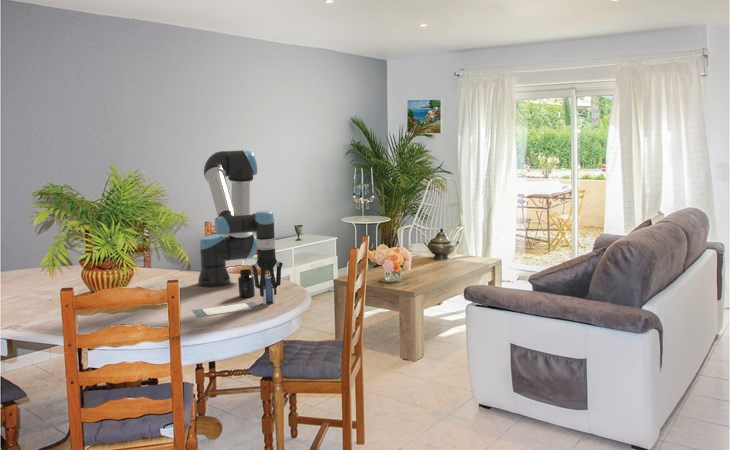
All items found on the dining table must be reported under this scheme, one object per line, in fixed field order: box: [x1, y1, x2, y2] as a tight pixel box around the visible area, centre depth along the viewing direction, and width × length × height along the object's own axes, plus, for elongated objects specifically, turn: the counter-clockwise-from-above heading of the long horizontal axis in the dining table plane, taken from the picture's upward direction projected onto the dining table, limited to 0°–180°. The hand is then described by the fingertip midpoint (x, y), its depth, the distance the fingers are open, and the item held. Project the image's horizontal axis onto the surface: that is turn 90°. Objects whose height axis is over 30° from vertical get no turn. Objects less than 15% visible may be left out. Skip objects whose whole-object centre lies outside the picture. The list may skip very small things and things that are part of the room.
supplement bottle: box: [237, 268, 256, 299], centre depth 279 cm, size 7×7×12 cm
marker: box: [264, 274, 273, 305], centre depth 266 cm, size 3×3×12 cm
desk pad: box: [191, 301, 262, 319], centre depth 259 cm, size 12×26×1 cm, turn 115°
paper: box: [201, 302, 251, 316], centre depth 259 cm, size 10×18×1 cm, turn 115°
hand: (268, 302), depth 267 cm, fingers closed on marker, 3 cm apart
